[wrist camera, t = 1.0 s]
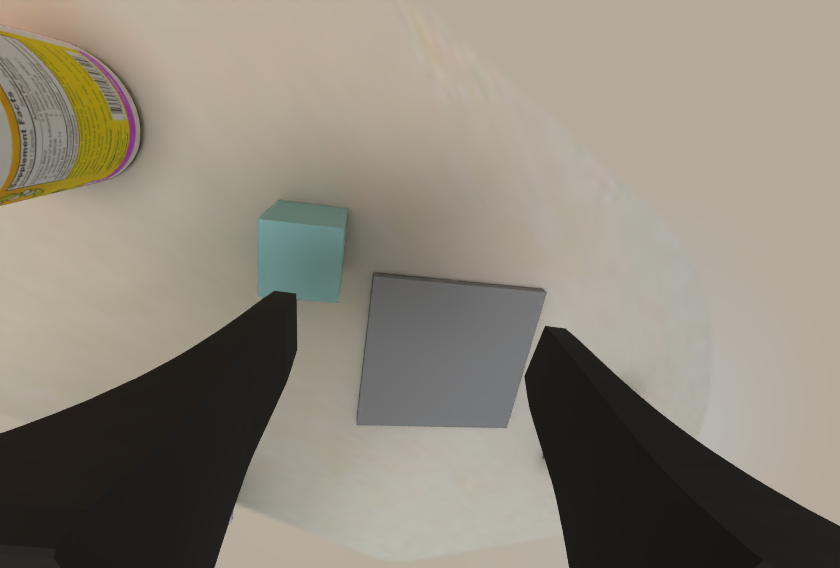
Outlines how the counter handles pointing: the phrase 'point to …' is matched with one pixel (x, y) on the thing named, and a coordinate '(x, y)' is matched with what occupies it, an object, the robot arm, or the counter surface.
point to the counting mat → (445, 351)
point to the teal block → (301, 250)
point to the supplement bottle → (59, 118)
